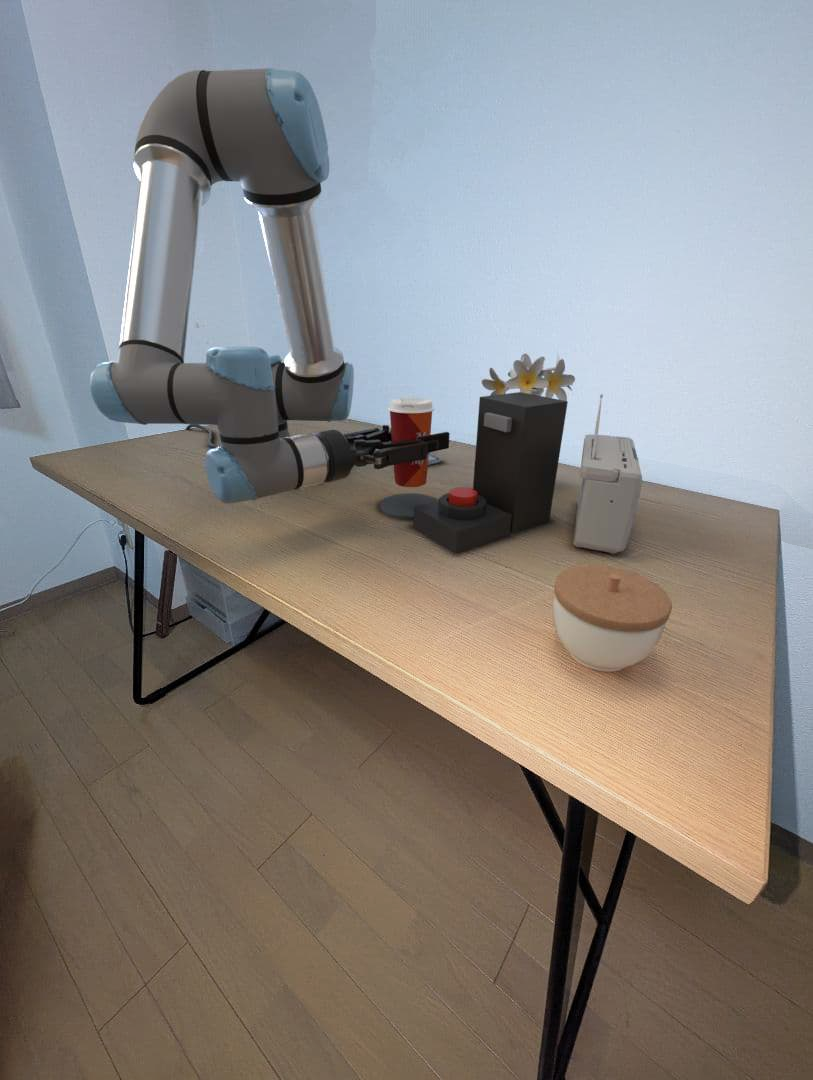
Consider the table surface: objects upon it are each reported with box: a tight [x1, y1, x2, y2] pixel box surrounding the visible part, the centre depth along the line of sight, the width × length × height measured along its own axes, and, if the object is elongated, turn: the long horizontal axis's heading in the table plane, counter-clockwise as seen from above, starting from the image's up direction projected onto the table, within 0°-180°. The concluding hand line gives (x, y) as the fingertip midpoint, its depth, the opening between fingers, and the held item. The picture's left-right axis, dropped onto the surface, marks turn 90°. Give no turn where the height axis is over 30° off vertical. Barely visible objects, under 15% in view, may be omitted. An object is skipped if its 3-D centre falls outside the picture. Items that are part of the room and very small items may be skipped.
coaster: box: [379, 493, 439, 520], centre depth 85 cm, size 11×11×1 cm
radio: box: [573, 393, 643, 555], centre depth 74 cm, size 21×8×20 cm, turn 160°
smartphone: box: [428, 453, 441, 466], centre depth 114 cm, size 7×1×15 cm
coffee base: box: [413, 492, 512, 554], centre depth 75 cm, size 11×11×6 cm
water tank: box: [472, 391, 569, 534], centre depth 77 cm, size 10×10×20 cm
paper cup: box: [387, 397, 435, 488], centre depth 80 cm, size 8×8×14 cm
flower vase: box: [481, 352, 576, 401], centre depth 92 cm, size 13×18×25 cm
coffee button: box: [448, 487, 477, 506], centre depth 74 cm, size 4×4×2 cm
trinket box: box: [552, 564, 673, 673], centre depth 48 cm, size 11×11×9 cm
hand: (433, 436), depth 83 cm, fingers closed on paper cup, 6 cm apart
